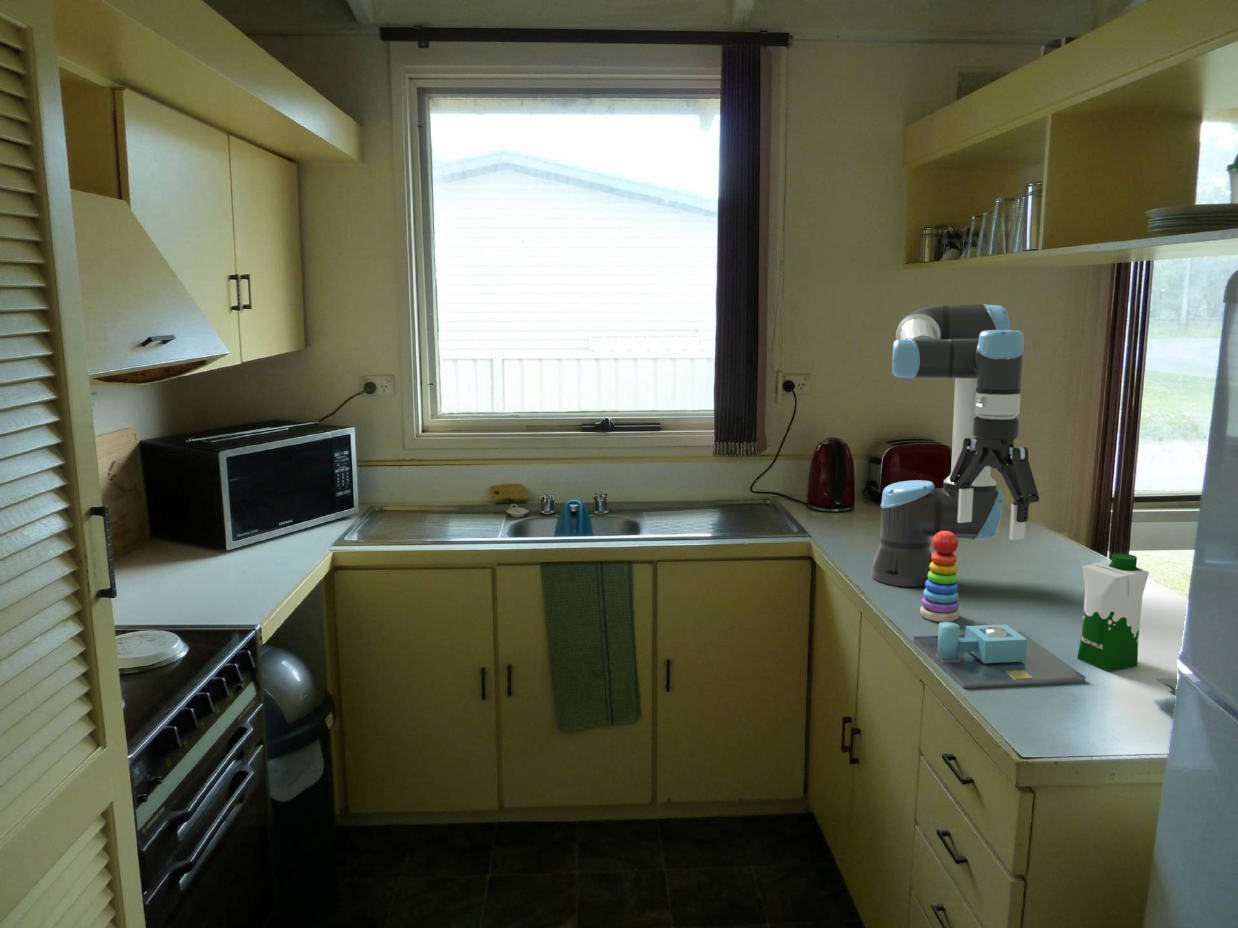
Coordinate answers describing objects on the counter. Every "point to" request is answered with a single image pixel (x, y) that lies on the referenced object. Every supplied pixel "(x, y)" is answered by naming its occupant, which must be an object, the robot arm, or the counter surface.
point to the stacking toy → (942, 581)
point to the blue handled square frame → (981, 643)
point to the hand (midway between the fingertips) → (989, 530)
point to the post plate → (1002, 665)
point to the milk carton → (1112, 613)
